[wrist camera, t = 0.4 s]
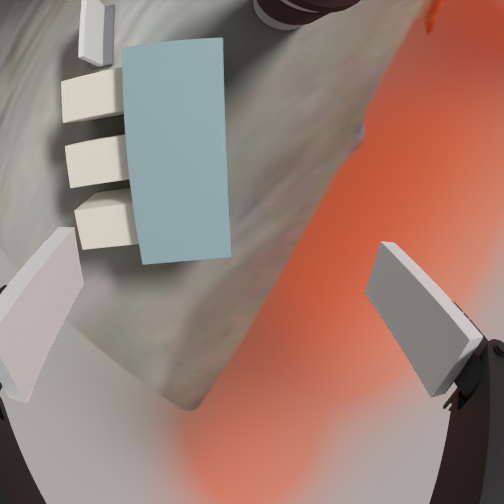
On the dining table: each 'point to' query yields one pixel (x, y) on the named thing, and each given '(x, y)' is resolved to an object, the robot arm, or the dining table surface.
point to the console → (177, 149)
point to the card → (96, 33)
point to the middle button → (97, 161)
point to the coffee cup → (296, 11)
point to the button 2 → (107, 220)
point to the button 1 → (92, 96)
